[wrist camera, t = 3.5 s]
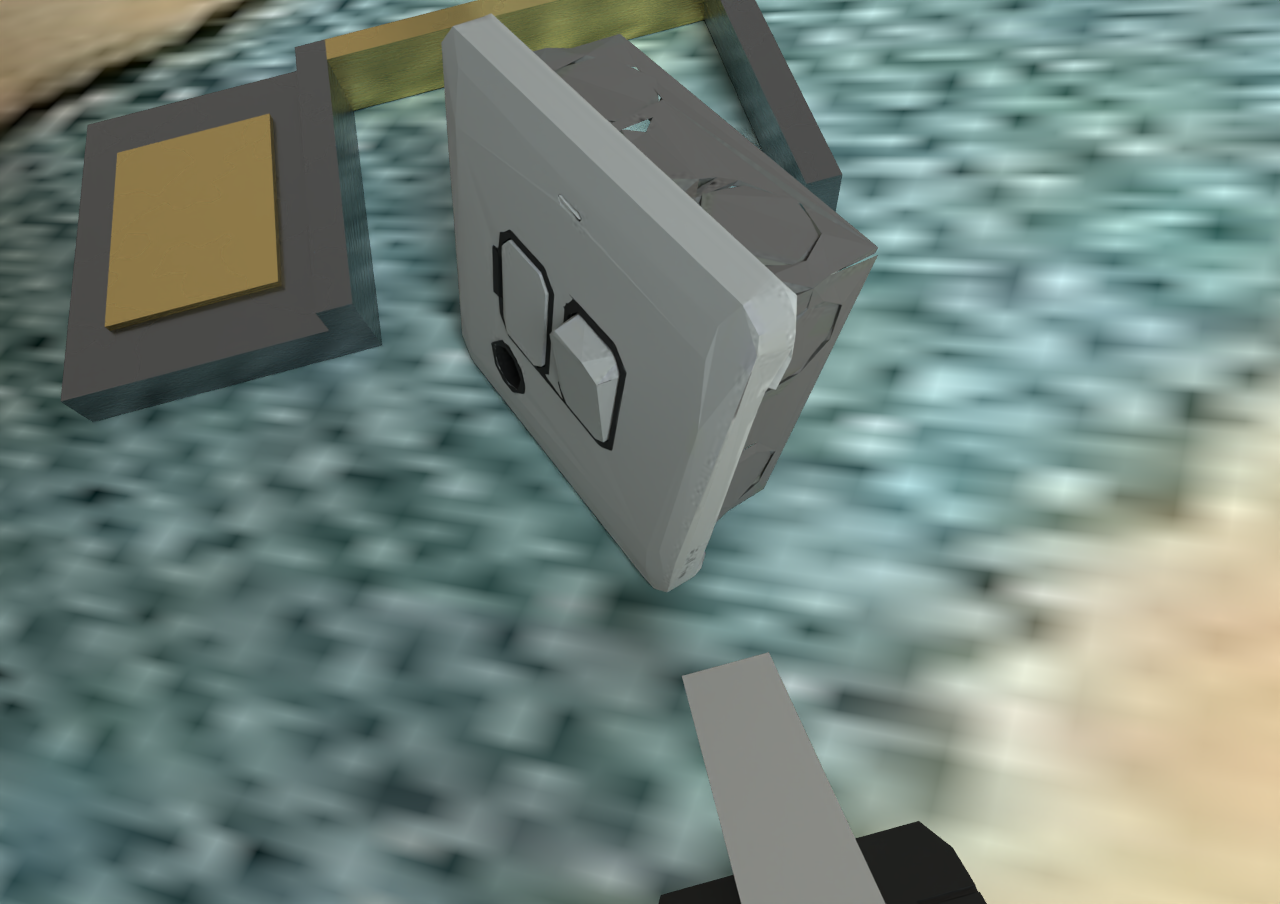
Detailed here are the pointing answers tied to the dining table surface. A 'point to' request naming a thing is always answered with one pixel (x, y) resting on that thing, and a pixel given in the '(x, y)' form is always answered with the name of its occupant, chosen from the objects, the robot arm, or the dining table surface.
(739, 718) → the robot arm
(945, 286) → the dining table surface
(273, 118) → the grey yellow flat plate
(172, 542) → the dining table surface
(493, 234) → the electrical switch
